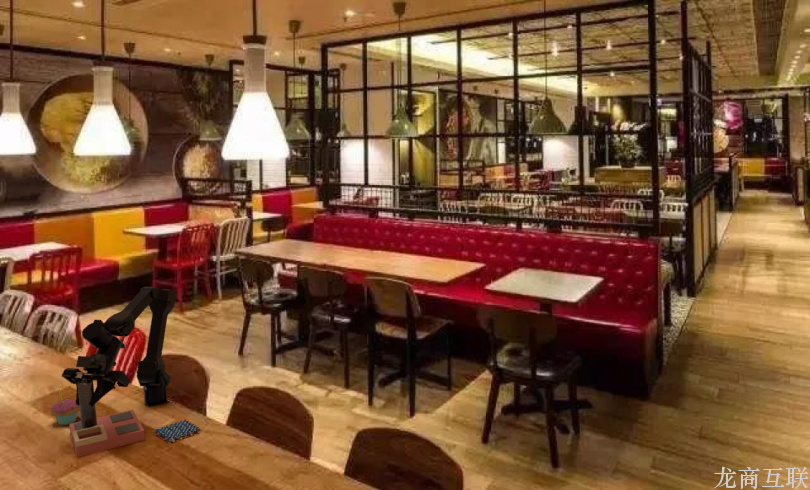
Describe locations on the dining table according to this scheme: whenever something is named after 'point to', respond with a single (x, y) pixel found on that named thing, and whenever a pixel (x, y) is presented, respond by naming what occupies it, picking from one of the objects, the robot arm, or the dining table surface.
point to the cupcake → (65, 410)
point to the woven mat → (177, 431)
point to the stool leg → (86, 404)
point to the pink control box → (107, 433)
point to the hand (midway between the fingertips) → (84, 405)
